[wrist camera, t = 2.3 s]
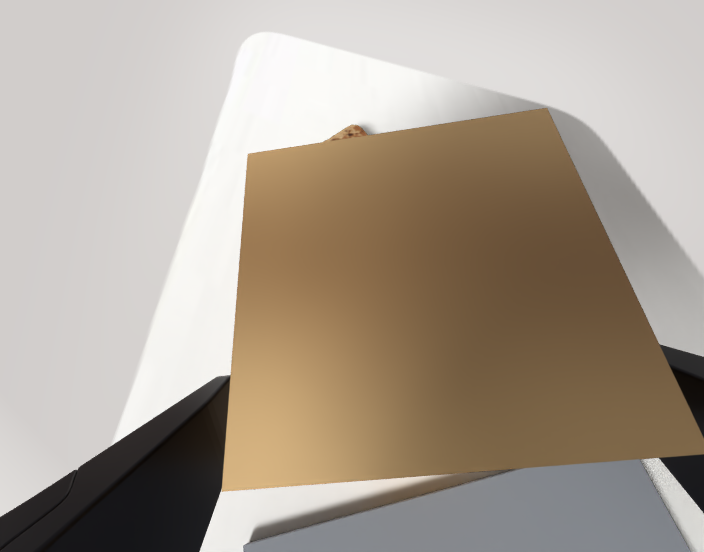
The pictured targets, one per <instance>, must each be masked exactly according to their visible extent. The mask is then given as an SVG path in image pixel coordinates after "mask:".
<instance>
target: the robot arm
mask: <svg viewBox="0 0 704 552" xmlns="http://www.w3.org/2000/svg"><path fill="white" fill-rule="evenodd" d="M659 345H660V344H659ZM660 347H661V349H662V351H663V353H664V356H665V358H666V360H667V362H668V364H669V366H670V368H671V370H672V372H673V374H674V377H675V379H676V381H677V383H678V385H679V387H680V389H681V391H682V393H683V396H684V398H685V400H686V402H687V404H688V406H689V408H690V410H691V412H692V414H693V417H694V419H695V421H696V423H697V425H698V427H699V429H700V431H701V433H702V436H703V438H704V357H702V356H698V355H695V354H691V353H688V352H684V351H681V350H677V349H674V348H670V347H667V346H663V345H660ZM230 377H231V375H227V376H219V377H216V378H214V379H213V380H211V381H210V382H208V383H207V384H205V385H204V386H202V387H201V388H199V389H198V390H196V391H194V392H193V393H191V394H190V395H188V396H187V397H185V398H184V399H182V400H181V401H179V402H178V403H176V404H175V405H173V406H172V407H170V408H169V409H167V410H165V411H164V412H162V413H161V414H159V415H158V416H156V417H155V418H153V419H152V420H150V421H149V422H147V423H146V424H144V425H143V426H141V427H140V428H138V429H136V430H135V431H133V432H132V433H130V434H129V435H127V436H126V437H124V438H123V439H121V440H120V441H118V442H117V443H115V444H114V445H112V446H111V447H109V448H108V449H106V450H105V451H103V452H102V453H100V454H98V455H97V456H95V457H94V458H92V459H91V460H89V461H88V462H86V463H85V464H83V465H82V466H80V467H79V468H78V470H74V471H72V472H71V473H69V474H68V475H66V476H65V477H63V478H62V479H60V480H59V481H57V482H55V483H54V484H52V485H51V486H49V487H48V488H46V489H44V490H43V491H42V492H40V493H38V494H37V495H35V496H34V497H32V498H31V499H29V500H27V501H26V502H24V503H23V504H21V505H19V506H18V507H16V508H14V509H13V510H11V511H9V512H8V513H6V514H4V515H3V516H1V517H0V552H199V551H200V548H201V546H202V543H203V540H204V537H205V534H206V531H207V529H208V526H209V523H210V520H211V517H212V514H213V512H214V509H215V506H216V503H217V500H218V498H219V495H220V492H221V489H222V480H223V468H224V455H225V442H226V429H227V416H228V403H229V390H230ZM659 459H660V460H661V461H662V462H663V464H664V465H665V466H666V467H667V468H668V470H669V471H670V472H671V473H672V475H673V476H674V477H675V478H676V480H677V481H678V482H679V483H680V484H681V486H682V487H683V488H684V489H685V491H686V492H687V493H688V494H689V495H690V497H691V498H692V499H693V500H694V502H695V503H696V504H697V505H698V507H699V508H700V509H701V510H702V511H703V513H704V454H701V455H688V456H675V457H662V458H659Z"/></svg>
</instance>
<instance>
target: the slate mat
mask: <svg viewBox="0 0 704 552" xmlns="http://www.w3.org/2000/svg"><path fill="white" fill-rule="evenodd" d="M243 548H244V552H691V551H690V550H689V548H688V546H687V544H686V542H685V541H684V539H683V537H682V535H681V533H680V532H679V530H678V528H677V526H676V524H675V523H674V521H673V519H672V517H671V515H670V514H669V512H668V510H667V508H666V506H665V505H664V503H663V501H662V499H661V497H660V495H659V494H658V492H657V490H656V488H655V486H654V485H653V483H652V481H651V479H650V477H649V476H648V474H647V472H646V470H645V468H644V467H643V465H642V463H641V461H640V459H636V460H623V461H610V462H597V463H585V464H572V465H559V466H546V467H533V468H520V469H514V470H510V471H507V472H503V473H499V474H496V475H492V476H489V477H485V478H481V479H478V480H474V481H470V482H467V483H463V484H460V485H456V486H452V487H449V488H445V489H441V490H438V491H434V492H430V493H427V494H423V495H420V496H416V497H412V498H409V499H405V500H401V501H398V502H394V503H391V504H387V505H383V506H380V507H376V508H372V509H369V510H365V511H362V512H358V513H354V514H351V515H347V516H343V517H340V518H336V519H333V520H329V521H325V522H322V523H318V524H314V525H311V526H307V527H303V528H300V529H296V530H293V531H289V532H285V533H282V534H278V535H274V536H271V537H267V538H264V539H260V540H256V541H253V542H249V543H247V544H245V545H244V546H243Z"/></svg>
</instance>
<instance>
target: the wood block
mask: <svg viewBox="0 0 704 552" xmlns="http://www.w3.org/2000/svg"><path fill="white" fill-rule="evenodd" d="M701 454H704V438H703V436H702V433H701V431H700V429H699V427H698V425H697V423H696V421H695V419H694V417H693V414H692V412H691V410H690V408H689V406H688V404H687V402H686V400H685V398H684V396H683V393H682V391H681V389H680V387H679V385H678V383H677V381H676V379H675V377H674V374H673V372H672V370H671V368H670V366H669V364H668V362H667V360H666V358H665V356H664V353H663V351H662V349H661V347H660V345H659V343H658V341H657V339H656V337H655V334H654V332H653V330H652V328H651V326H650V324H649V322H648V320H647V318H646V315H645V313H644V311H643V309H642V307H641V305H640V303H639V301H638V299H637V297H636V294H635V292H634V290H633V288H632V286H631V284H630V282H629V280H628V278H627V275H626V273H625V271H624V269H623V267H622V265H621V263H620V261H619V259H618V257H617V254H616V252H615V250H614V248H613V246H612V244H611V242H610V240H609V238H608V235H607V233H606V231H605V229H604V227H603V225H602V223H601V221H600V219H599V217H598V214H597V212H596V210H595V208H594V206H593V204H592V202H591V200H590V198H589V195H588V193H587V191H586V189H585V187H584V185H583V183H582V181H581V179H580V176H579V174H578V172H577V170H576V168H575V166H574V164H573V162H572V160H571V158H570V155H569V153H568V151H567V149H566V147H565V145H564V143H563V141H562V139H561V136H560V134H559V132H558V130H557V128H556V126H555V124H554V122H553V120H552V118H551V115H550V113H549V111H548V109H547V108H543V109H536V110H530V111H523V112H517V113H510V114H504V115H497V116H491V117H484V118H478V119H471V120H465V121H458V122H452V123H445V124H439V125H432V126H426V127H419V128H413V129H406V130H400V131H393V132H387V133H380V134H374V135H367V136H361V137H354V138H348V139H341V140H335V141H328V142H322V143H315V144H309V145H302V146H296V147H289V148H283V149H276V150H270V151H263V152H257V153H250V154H248V158H247V171H246V184H245V197H244V210H243V222H242V235H241V248H240V261H239V274H238V287H237V300H236V313H235V326H234V339H233V351H232V364H231V377H230V390H229V403H228V416H227V429H226V442H225V455H224V468H223V480H222V492H223V491H236V490H249V489H262V488H275V487H287V486H300V485H313V484H326V483H339V482H352V481H365V480H378V479H391V478H404V477H417V476H430V475H442V474H455V473H468V472H481V471H494V470H507V469H520V468H533V467H546V466H559V465H572V464H585V463H597V462H610V461H623V460H636V459H649V458H662V457H675V456H688V455H701Z"/></svg>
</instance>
